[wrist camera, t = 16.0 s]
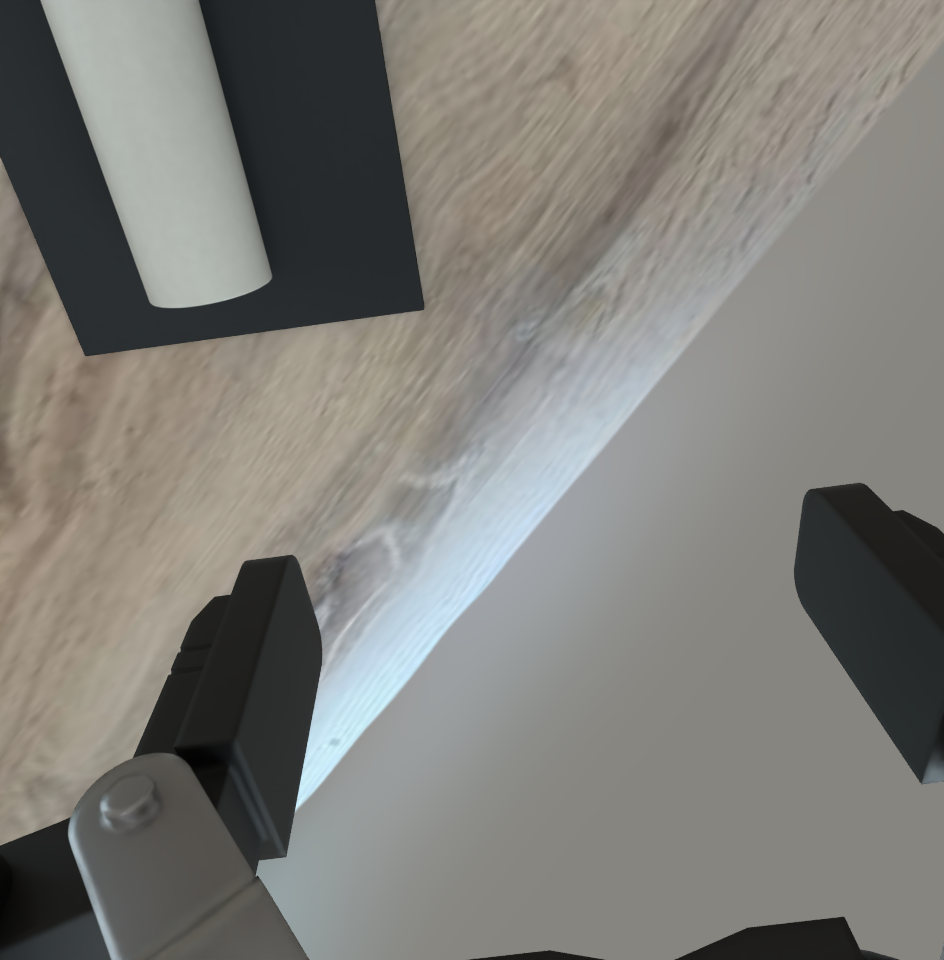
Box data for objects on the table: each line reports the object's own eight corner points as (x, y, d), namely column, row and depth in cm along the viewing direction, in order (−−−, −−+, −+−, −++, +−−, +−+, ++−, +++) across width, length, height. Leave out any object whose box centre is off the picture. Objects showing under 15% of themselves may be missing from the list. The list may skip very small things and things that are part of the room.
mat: (424, 306, 38) (424, 310, 37) (89, 352, 38) (85, 356, 38) (341, -202, 28) (340, -206, 27) (-114, -131, 28) (-125, -134, 27)
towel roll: (196, -98, 28) (121, -125, 23) (289, 270, 35) (246, 306, 31) (68, -74, 29) (-30, -95, 24) (185, 280, 36) (127, 317, 32)
